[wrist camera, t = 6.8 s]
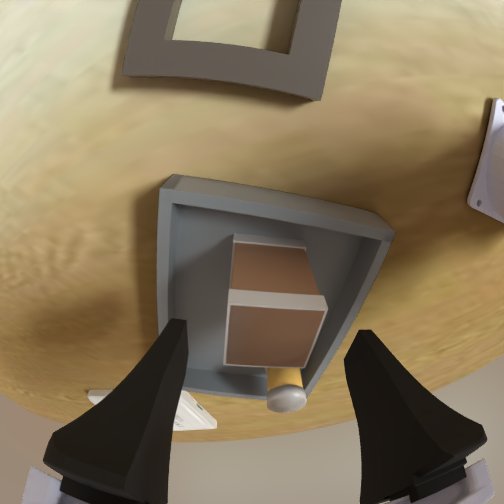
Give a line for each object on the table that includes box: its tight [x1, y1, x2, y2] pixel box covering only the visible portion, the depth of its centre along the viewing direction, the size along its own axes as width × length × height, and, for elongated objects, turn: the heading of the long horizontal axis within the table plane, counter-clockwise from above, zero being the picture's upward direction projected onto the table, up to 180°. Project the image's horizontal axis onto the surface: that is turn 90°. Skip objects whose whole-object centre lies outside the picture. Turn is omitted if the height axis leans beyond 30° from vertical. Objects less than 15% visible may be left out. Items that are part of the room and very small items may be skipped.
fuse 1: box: [223, 233, 328, 368], centre depth 13 cm, size 4×4×6 cm
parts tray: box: [157, 174, 396, 400], centre depth 17 cm, size 11×15×2 cm
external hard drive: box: [87, 389, 217, 431], centre depth 25 cm, size 2×8×12 cm
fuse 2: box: [265, 368, 307, 413], centre depth 18 cm, size 3×3×4 cm
